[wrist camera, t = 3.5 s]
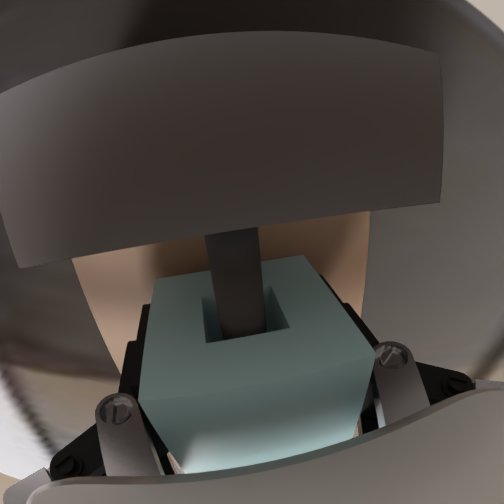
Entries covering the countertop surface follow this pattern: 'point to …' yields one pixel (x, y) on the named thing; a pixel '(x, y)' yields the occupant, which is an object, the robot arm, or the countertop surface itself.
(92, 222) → the linear slide rail
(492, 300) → the countertop surface
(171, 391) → the sleeve
